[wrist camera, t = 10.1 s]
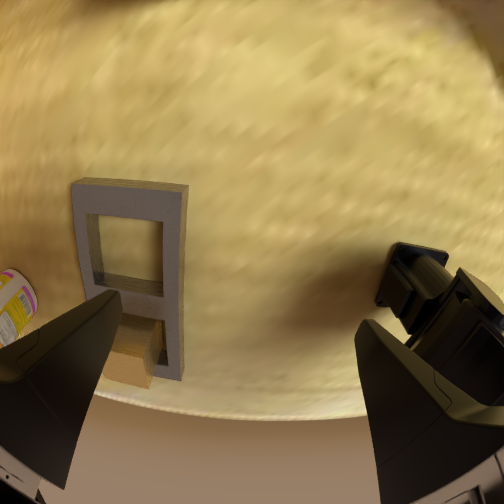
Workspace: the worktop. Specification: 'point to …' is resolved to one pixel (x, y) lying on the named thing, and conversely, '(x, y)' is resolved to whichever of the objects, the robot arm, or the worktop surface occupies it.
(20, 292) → the supplement bottle
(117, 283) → the grey double window frame
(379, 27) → the worktop surface
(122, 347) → the wooden block
